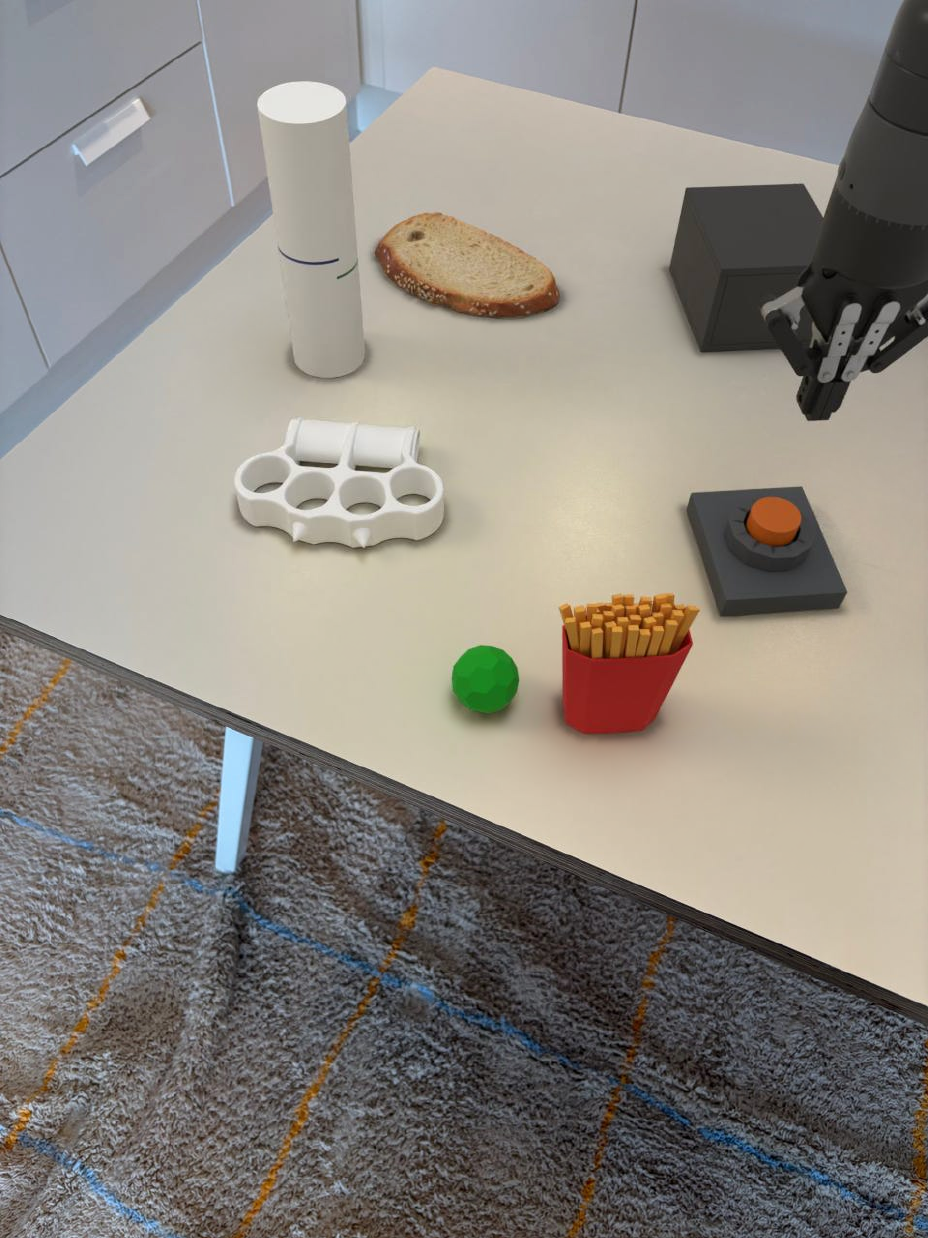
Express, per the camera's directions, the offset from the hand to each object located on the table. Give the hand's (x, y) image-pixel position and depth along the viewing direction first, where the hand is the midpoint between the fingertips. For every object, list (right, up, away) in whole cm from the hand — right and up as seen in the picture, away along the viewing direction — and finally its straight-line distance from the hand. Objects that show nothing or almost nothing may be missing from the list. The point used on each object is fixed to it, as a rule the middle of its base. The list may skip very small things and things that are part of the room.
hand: (813, 412), depth 72 cm
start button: (0, -8, +10) cm, 12 cm away
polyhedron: (-24, -21, +4) cm, 32 cm away
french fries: (-15, -22, +3) cm, 27 cm away
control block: (0, -10, +13) cm, 16 cm away
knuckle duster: (-36, -4, +16) cm, 40 cm away
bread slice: (-25, +23, +37) cm, 50 cm away
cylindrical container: (-39, +12, +28) cm, 49 cm away
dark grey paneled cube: (+4, +19, +34) cm, 39 cm away
